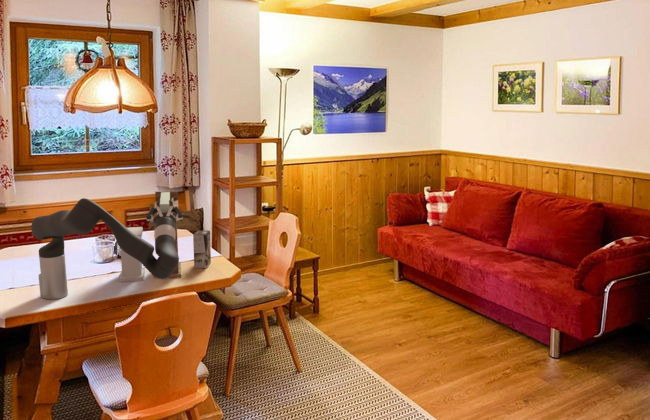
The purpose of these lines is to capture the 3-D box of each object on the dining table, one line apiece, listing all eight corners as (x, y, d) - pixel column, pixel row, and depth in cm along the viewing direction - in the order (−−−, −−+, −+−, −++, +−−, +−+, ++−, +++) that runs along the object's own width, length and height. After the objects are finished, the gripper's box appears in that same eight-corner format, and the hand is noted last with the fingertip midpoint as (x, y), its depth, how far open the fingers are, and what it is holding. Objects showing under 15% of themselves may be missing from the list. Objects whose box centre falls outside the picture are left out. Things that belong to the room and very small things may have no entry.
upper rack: (181, 278, 256) (177, 199, 249) (157, 280, 254) (153, 199, 246) (180, 265, 275) (177, 190, 268) (158, 266, 273) (155, 191, 265)
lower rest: (143, 281, 253) (140, 234, 248) (119, 282, 250) (116, 235, 246) (144, 271, 266) (142, 226, 261) (122, 272, 263) (119, 227, 259)
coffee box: (207, 268, 272) (206, 235, 268) (193, 268, 272) (192, 234, 268) (211, 262, 281) (210, 230, 277) (198, 262, 281) (197, 229, 277)
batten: (169, 212, 222) (169, 204, 222) (160, 213, 222) (159, 204, 221) (170, 200, 247) (169, 192, 246) (161, 200, 246) (161, 192, 245)
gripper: (184, 224, 213) (183, 194, 226) (144, 226, 210) (145, 195, 222) (184, 238, 218) (183, 208, 231) (145, 240, 215) (146, 209, 227)
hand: (164, 202), depth 226 cm, fingers closed on batten, 3 cm apart
